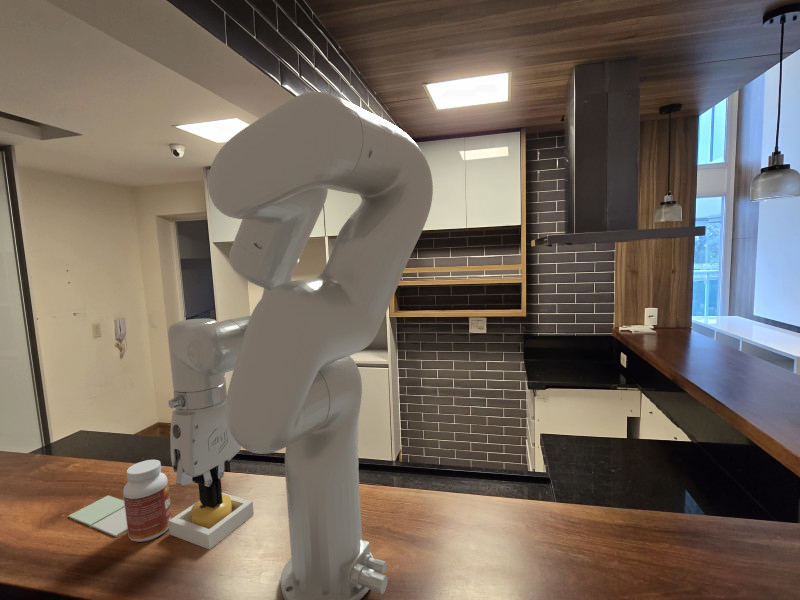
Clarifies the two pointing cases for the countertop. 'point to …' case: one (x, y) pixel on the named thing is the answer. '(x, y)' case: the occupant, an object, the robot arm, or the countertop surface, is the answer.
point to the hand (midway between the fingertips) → (211, 503)
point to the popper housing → (210, 537)
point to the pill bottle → (146, 501)
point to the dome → (211, 512)
